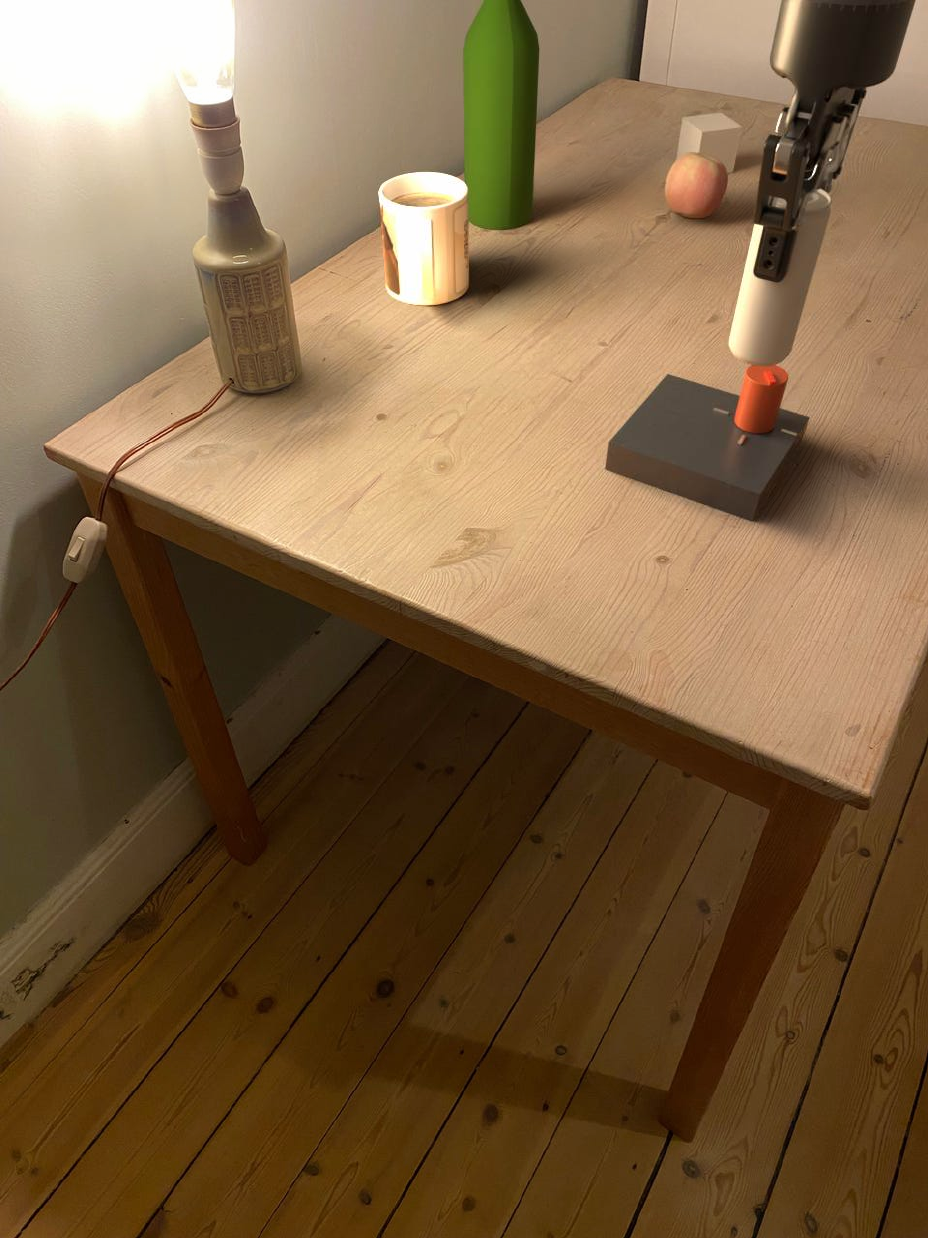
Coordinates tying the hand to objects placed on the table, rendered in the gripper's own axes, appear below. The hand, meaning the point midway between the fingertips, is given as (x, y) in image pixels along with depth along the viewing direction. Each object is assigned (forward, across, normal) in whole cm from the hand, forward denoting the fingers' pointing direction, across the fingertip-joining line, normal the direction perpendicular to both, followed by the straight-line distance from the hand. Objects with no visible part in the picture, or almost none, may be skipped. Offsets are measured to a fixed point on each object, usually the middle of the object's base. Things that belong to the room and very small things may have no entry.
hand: (781, 261), depth 66 cm
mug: (+21, +16, +43) cm, 51 cm away
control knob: (+18, +6, 0) cm, 19 cm away
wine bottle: (+21, +38, +46) cm, 64 cm away
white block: (+21, +68, +29) cm, 77 cm away
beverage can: (+8, 0, 0) cm, 8 cm away
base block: (+21, +4, +3) cm, 21 cm away
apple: (+21, +50, +24) cm, 60 cm away
